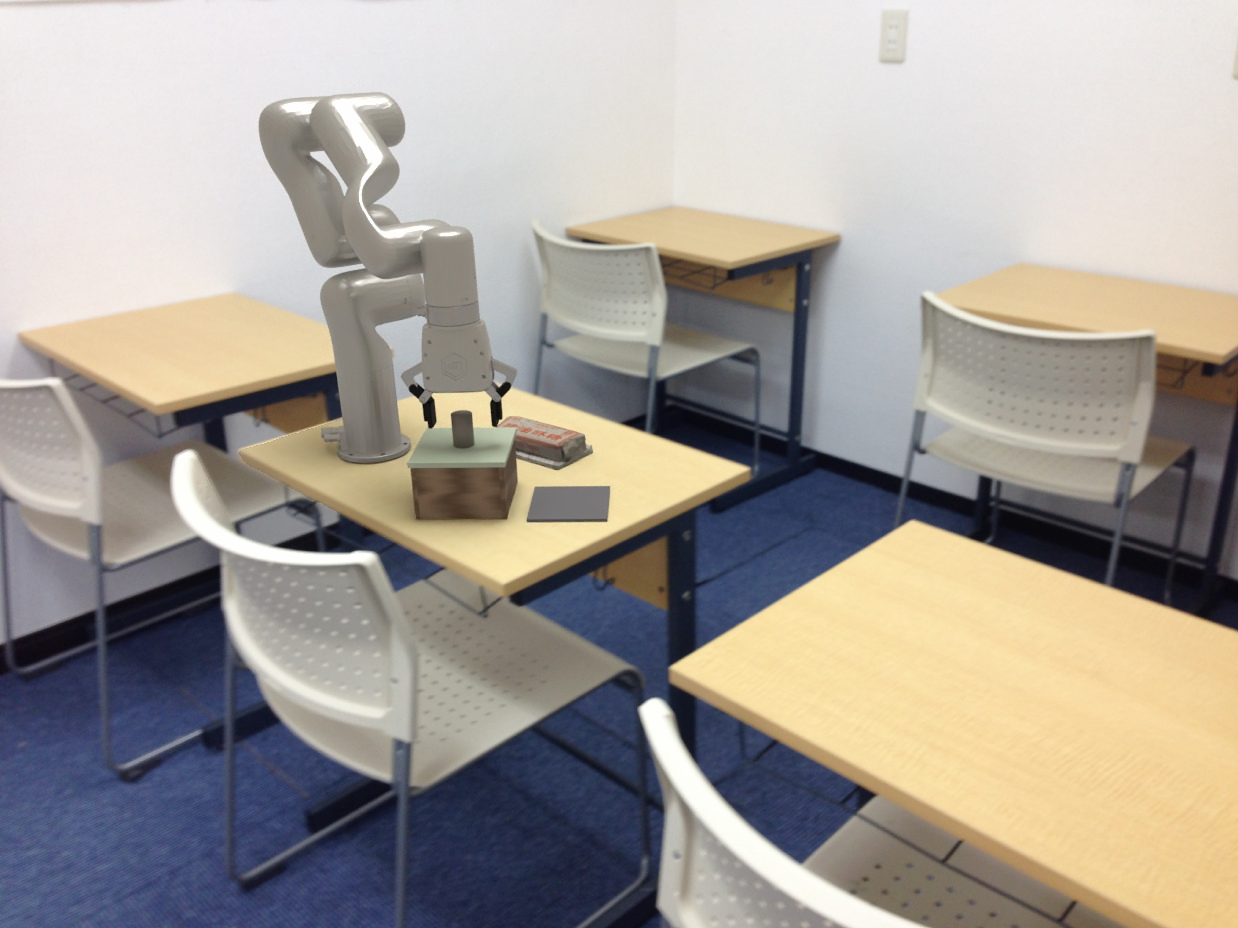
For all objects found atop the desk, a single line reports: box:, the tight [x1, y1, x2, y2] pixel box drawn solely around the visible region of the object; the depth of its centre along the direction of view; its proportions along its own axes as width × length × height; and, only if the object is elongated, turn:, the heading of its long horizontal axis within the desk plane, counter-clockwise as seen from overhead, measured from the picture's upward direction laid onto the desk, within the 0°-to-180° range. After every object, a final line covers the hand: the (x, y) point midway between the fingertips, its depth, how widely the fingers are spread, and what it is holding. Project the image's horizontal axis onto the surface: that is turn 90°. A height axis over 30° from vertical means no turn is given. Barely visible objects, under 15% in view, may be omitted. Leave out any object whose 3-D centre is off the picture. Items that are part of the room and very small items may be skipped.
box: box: [409, 439, 519, 520], centre depth 161 cm, size 14×14×8 cm
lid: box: [406, 409, 517, 469], centre depth 159 cm, size 14×14×7 cm
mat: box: [526, 485, 611, 523], centre depth 160 cm, size 12×12×1 cm
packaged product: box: [494, 415, 594, 471], centre depth 181 cm, size 18×5×10 cm
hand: (464, 424), depth 158 cm, fingers open, 9 cm apart
